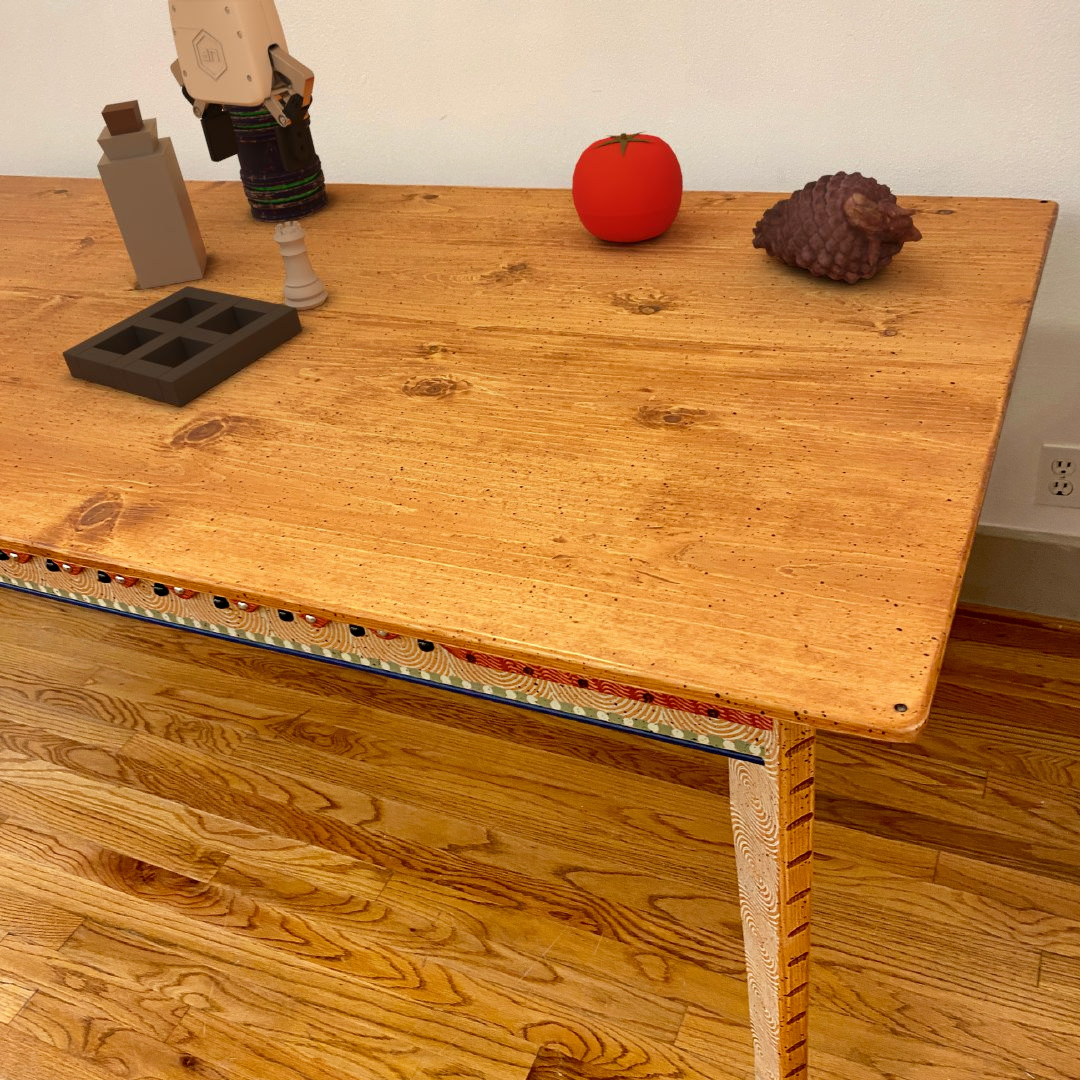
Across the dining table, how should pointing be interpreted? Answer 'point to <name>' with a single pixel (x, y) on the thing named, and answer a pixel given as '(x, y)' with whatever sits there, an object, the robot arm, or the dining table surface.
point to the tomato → (627, 187)
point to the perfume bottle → (149, 198)
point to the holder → (183, 344)
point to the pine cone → (837, 227)
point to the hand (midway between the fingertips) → (261, 162)
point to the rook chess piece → (298, 269)
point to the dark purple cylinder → (274, 168)
